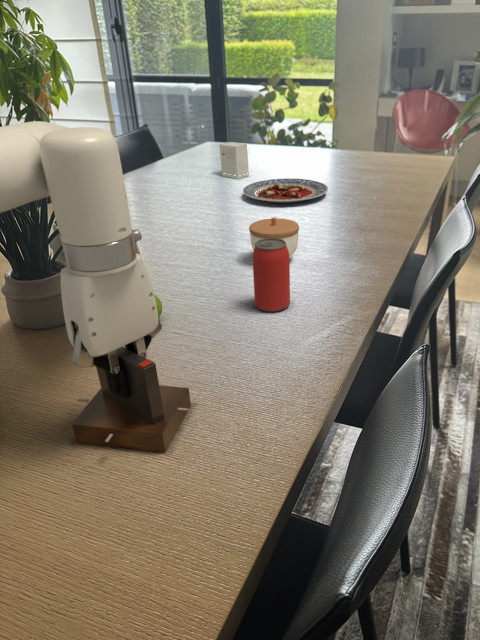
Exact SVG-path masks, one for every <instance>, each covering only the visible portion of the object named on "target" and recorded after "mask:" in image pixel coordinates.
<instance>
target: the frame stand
mask: <svg viewBox="0 0 480 640" xmlns="http://www.w3.org/2000/svg"><path fill="white" fill-rule="evenodd" d="M159 387H160V393H161V399H162V405H163V411H164V416H165V418H163V419H161V420H160V421H158V422H156V423H155V424H152V423H151V422H149V421H147V420H146V419H144V418H143V417H141V416H139V415H138V414H136V413H134V412H133V411H131V410H130V409H128V408H126V407H125V406H123V405H121V404H120V403H118V402H117V401H115V400H113V399H112V398H110V397H108V396H107V395H105V394H104V393H102V389H101V388H100V389H98V391H97V392H96V393H95V395H94V396H93V397H92V399H91V400H90V399H89V398H78V399H77V401H78V402H86V403H87V404H86V405H85V407H84V408H83V409H82V411H81V412H80V413H79V414H78V415H77V417H76V418H75V419H74V420H73V422H72V423H71V428H72V432H73V434H74V438H75V441H76V443H77V444H84V445H85V444H87V445H96V446H104V447H113V448H125V449H132V450H141V451H151V452H161V453H166V452H167V450H169V447H170V445H171V443H172V441H173V440H174V438H175V436H176V434H177V432H178V430H179V429H180V426H181V425H182V423H183V421H184V420H185V417H186V415H188V412H189V410H190V409H191V407H192V404H191V396H190V395H191V394H190V388H189V387H184V386H183V387H181V386H170V385H160V384H159Z"/></svg>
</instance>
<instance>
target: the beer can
mask: <svg viewBox="0 0 480 640" xmlns="http://www.w3.org/2000/svg"><path fill="white" fill-rule="evenodd" d="M251 258H252V276H253V292H254V293H253V295H254V304H255V306H256V308H257V309H259V310H261V311H264V312H269V313H270V312H273V313H275V312H280V311H283V310H285V309H287V308H288V307H289V306H290V304H291V276H290V275H291V274H290V272H291V269H290V258H289V251H288V248H287V246H286V242H285V241H284V240H282V239H277V238H266V239H261V240H259V241H257V242H256V243H255V248H254V251H253V250H252V257H251Z"/></svg>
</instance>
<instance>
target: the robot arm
mask: <svg viewBox="0 0 480 640" xmlns="http://www.w3.org/2000/svg"><path fill="white" fill-rule="evenodd" d="M45 198H50V202H51V206H52V209H53V214H54V218H55V222H56V227H57V231H58V234H59V239H60V243H61V246H62V247H61V248H62V251H63V254H64V258H65V263H66V266H65V267H63V268H61V269H60V295H61V303H62V305H61V306H62V311H63V318H64V323H65V329H66V333H67V338H68V340H69V343H70V345H71V346H72V347H73V351H72V352H73V353H72V358H71V359H72V360H71V361H72V364H73V365H75V366H76V367H78V368H81V369H83V368H93V367H96V366H97V367H99V368H101V369H104V370H105V374H106V378H107V382H108V387H109V389H110V391H111V392H113V393H115V394H117V395H119V396H121V397H122V398H124V399H127V398H129V396H130V392H129V387H128V383H127V378H126V373H125V371H124V370H122V369H120V365H119V360H118V356H117V351H116V349H118V348H121V347H124V348H126V349H128V350H130V351H132V352H134V353H136V354H138V355H140V356H142V357H144V358H146V359H147V356H148V354H147V350H148V348H149V346H150V345H151V342H152V341H153V339H154V338H155V337H156V336H157V335H158V334H159V333H160V332H161V331H162V330H163V325H162V323H161V321H160V319H159V318H158V312H157V306H156V301H155V297H154V294H155V293H154V289H153V285H152V282H151V279H150V276H149V272H148V270H147V267H146V265H145V263H144V260H143V258H142V256H141V255H140V253H139V254H138V253H136V251H137V245H136V244H137V242H140V241H141V240H142V238H143V236H142V233H141V231H140V230H139V229H138V228H135V229H133V226H132V220H131V215H130V209H129V202H128V197H127V191H126V185H125V179H124V173H123V167H122V161H121V156H120V150H119V145H118V142H117V139H116V138H115V136H114V135H113V134H112V133H111V132H110V131H108V130H107V129H104V128H101V127H90V126H82V127H81V126H79V127H67V126H64V125H60V124H57V123H52V122H48V121H42V120H41V121H40V120H35V121H34V120H33V121H26V122H20V123H16V124H10V125H3V126H0V214H2V213H5V212H8V211H11V210H13V209H17V208H19V207H22V206H24V205H27V204H29V203H32V202H35V201H40V200H42V199H45Z"/></svg>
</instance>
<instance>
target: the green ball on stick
mask: <svg viewBox="0 0 480 640" xmlns="http://www.w3.org/2000/svg"><path fill="white" fill-rule="evenodd" d="M136 250H137V249H136ZM136 253H138V254H139V255H140V250H137V251H136ZM154 297H155V301H156V306H157V312H158V319H160V317H161V315H162V312H163V303H162V301H161V300H160V298H159V297H158V296H157V295H156V294H155V293H154Z"/></svg>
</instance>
